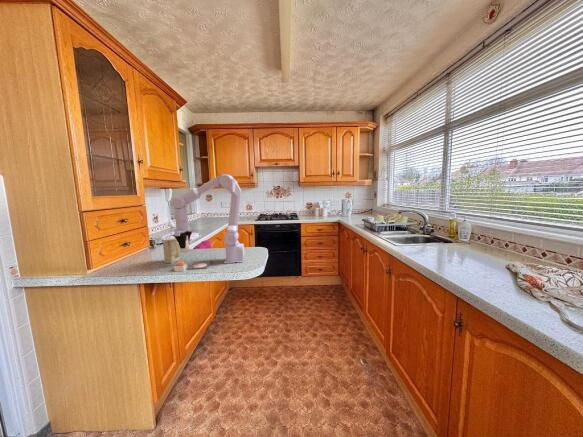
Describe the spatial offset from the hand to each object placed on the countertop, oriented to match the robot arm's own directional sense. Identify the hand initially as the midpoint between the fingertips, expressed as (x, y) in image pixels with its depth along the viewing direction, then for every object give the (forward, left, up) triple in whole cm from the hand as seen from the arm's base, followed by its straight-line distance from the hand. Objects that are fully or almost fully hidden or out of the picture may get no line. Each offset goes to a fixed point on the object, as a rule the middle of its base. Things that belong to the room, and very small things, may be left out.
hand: (184, 247), depth 116 cm
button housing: (0, +8, -9) cm, 12 cm away
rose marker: (0, 0, -2) cm, 2 cm away
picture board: (-8, +4, -9) cm, 12 cm away
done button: (0, +8, -7) cm, 11 cm away
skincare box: (+10, -6, -9) cm, 14 cm away
